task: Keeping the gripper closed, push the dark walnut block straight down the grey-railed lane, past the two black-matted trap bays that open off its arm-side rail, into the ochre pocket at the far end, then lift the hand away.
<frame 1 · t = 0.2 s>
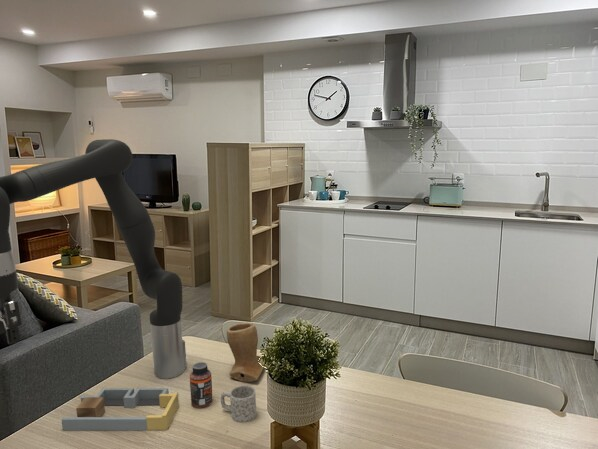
hand: (7, 338, 108), 28 cm above the table, tool pointing down, fingers open, 8 cm apart
tan boot vase: (245, 372, 147), on the table
mug: (238, 414, 125), on the table
supplement bottle: (202, 403, 130), on the table
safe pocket: (158, 417, 124), on the table
walnut block: (91, 417, 124), on the table
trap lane: (128, 417, 124), on the table
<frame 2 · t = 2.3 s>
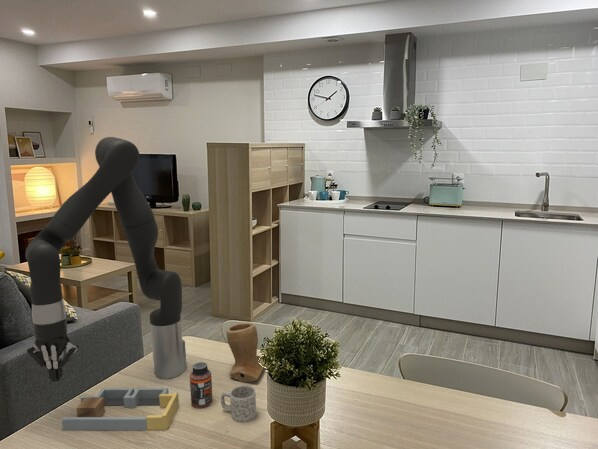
hand: (56, 380, 122), 11 cm above the table, tool pointing down, fingers closed
nothing on the table moved.
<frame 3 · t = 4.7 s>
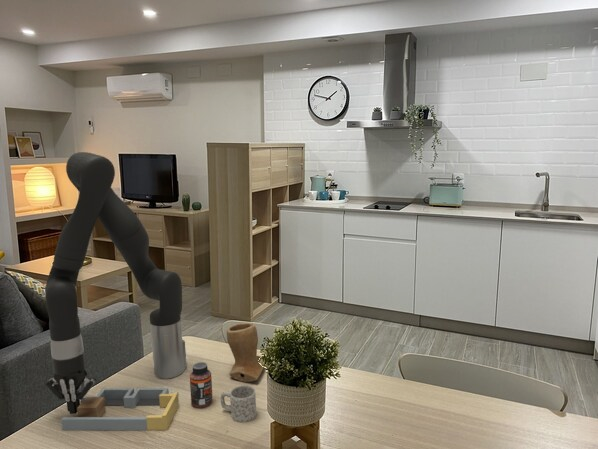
hand: (74, 412, 124), 2 cm above the table, tool pointing down, fingers closed
walnut block: (92, 417, 124), on the table, touching gripper
everything else where it was.
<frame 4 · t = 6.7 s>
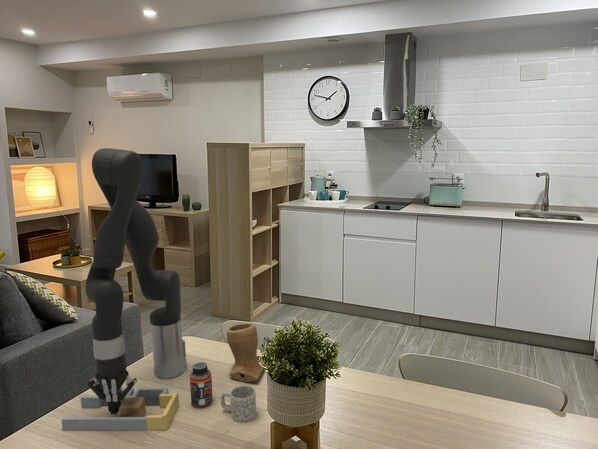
hand: (115, 412, 124), 2 cm above the table, tool pointing down, fingers closed
walnut block: (133, 418, 124), on the table, touching gripper
everything else where it was.
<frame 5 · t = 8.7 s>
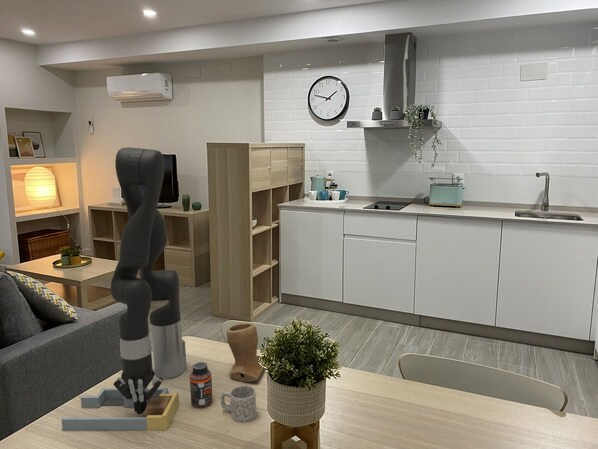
hand: (141, 412, 123), 2 cm above the table, tool pointing down, fingers closed
walnut block: (159, 417, 123), on the table, touching gripper, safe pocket
everything else where it was.
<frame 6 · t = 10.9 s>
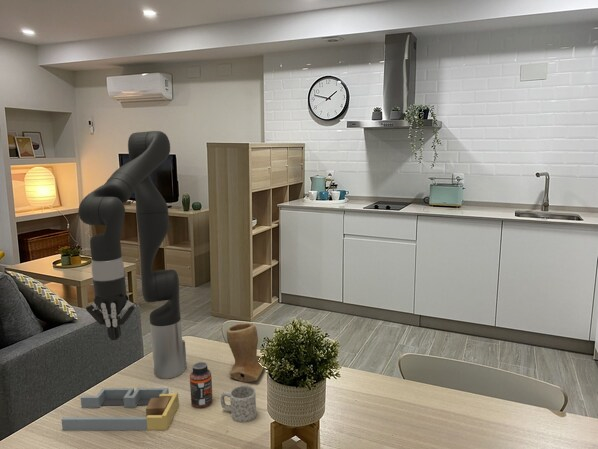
hand: (115, 338, 121), 22 cm above the table, tool pointing down, fingers closed
walnut block: (159, 418, 123), on the table
everything else where it was.
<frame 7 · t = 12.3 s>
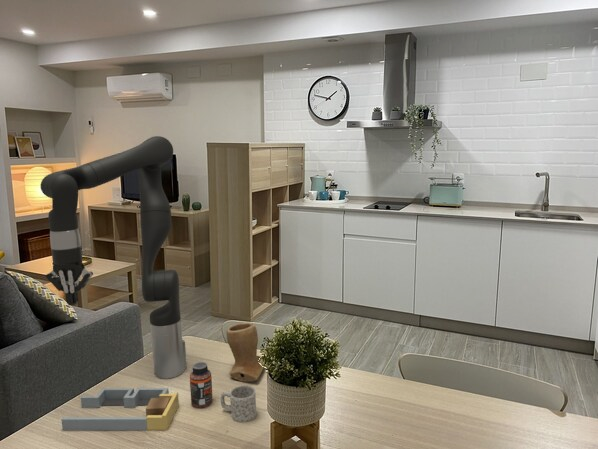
hand: (73, 304, 132), 27 cm above the table, tool pointing down, fingers closed
nothing on the table moved.
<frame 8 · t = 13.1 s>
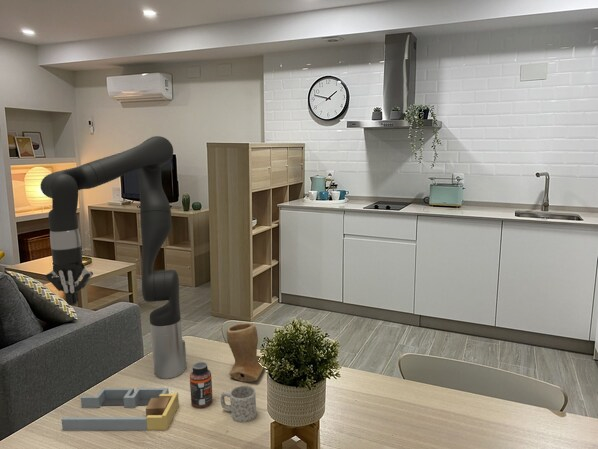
hand: (73, 304, 132), 27 cm above the table, tool pointing down, fingers closed
nothing on the table moved.
at the end: walnut block 0.5 cm from the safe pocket (horizontally); walnut block tilted 0°; the gripper is holding nothing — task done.
